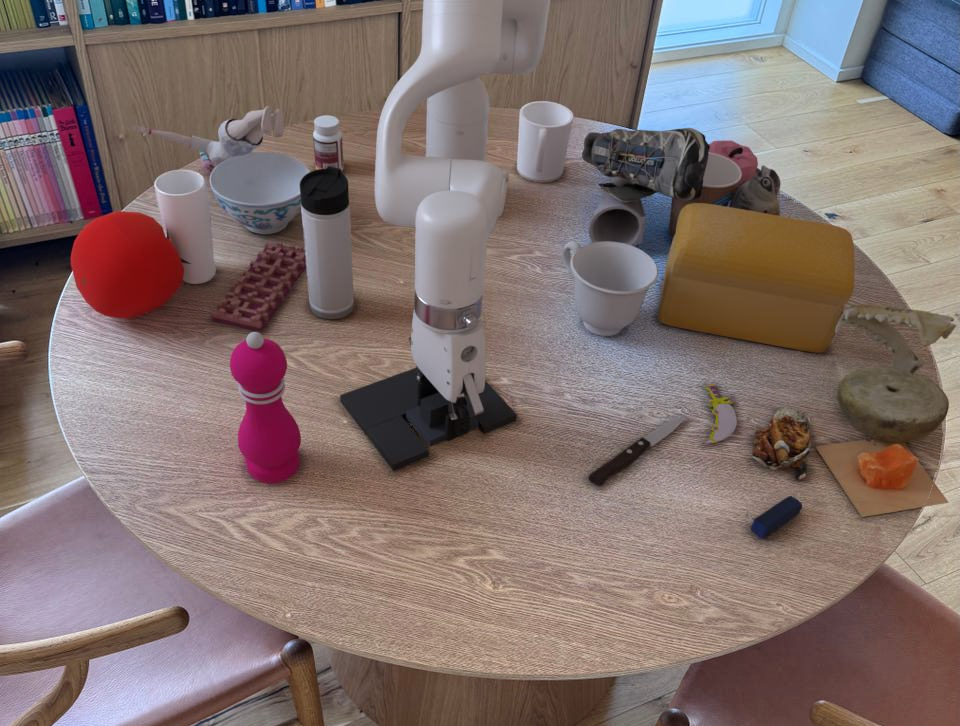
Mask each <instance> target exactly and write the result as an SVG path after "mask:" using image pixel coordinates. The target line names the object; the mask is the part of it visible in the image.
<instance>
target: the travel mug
mask: <svg viewBox="0 0 960 726" xmlns="http://www.w3.org/2000/svg"><path fill="white" fill-rule="evenodd" d="M349 192H350V191H349V180H348V177H347V176H346V174H344V173H342V171H341V169H339V168H335V167H331V166H328V167H327V168H326V169H318V170H317V169H313V170H312V171H311V170H310V172H309V173H308V174H306V175H305V176H304V177H303V178H302V179H301V181H300V195H301V211H300V212H301V222H302V234H303V245H304V246H303V247H304V251H305V258H306V269H305V270H306V279H307V292H308V302H309V309H310V311H311V313H313V314H314V315H315V316H317V317H318V318H321V319H324V320H338V319H342V318H344V317H346V316H348V315H350V314H351V312H353V310H354V307H355V299H354V295H355V294H354V274H353V273H354V272H353V254H352V253H353V252H352V250H353V249H352V231H351V227H352V225H351V210H350V209H351V208H350V204H351V203H350V198H349V197H350V193H349Z"/></svg>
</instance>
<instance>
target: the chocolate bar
mask: <svg viewBox="0 0 960 726" xmlns="http://www.w3.org/2000/svg"><path fill="white" fill-rule="evenodd" d="M249 266H250V267H249V268H248V270H243V271H242V272H241V276H240V277H239V278H238V279H237V280H235V282H234V283H233V286H234V287H233V289H232V290H231V291H229V290H228V291H226V293H225V298H223V299H222V300H221V301H219V302H218V303H217V309H216V310H215V309H213V310H212V311H211V312H210V315H211V320H212V322H218V323H221V324H225V325H230V326H234V327H238V328H242V329H246V330H251V331H253V332H258V333H261V332H262V331H263V330H264V328H265V326H267V324H268V322H269V321H270V320H271V318H272V317H273V315H274V314H275V313H276V311H277V310H278V308H279V307H280V306H281V304H282V303H283V301H284V300H285V298H286V297H287V296H288V294H289V293H290V291H291V290H292V288H293V287H294V286H295V284H296V283H297V281H299V279H300V277H301V276H302V275H303V274H304V272H305V271H306V270H307V269H306V258H305V249H304V246H302V245H298V246H297V247H296V244H294V243H290V244H289V245H288V246H287V245H284V242H283V241H281V240H278V241H277V242H276V243H273V242H269V241H266V242H265V244H264V249H263V250H262V251H261V250H260V251H258V253H257V258H256V259H255V260H251V261H250V262H249Z"/></svg>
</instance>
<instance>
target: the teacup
mask: <svg viewBox="0 0 960 726" xmlns="http://www.w3.org/2000/svg"><path fill="white" fill-rule="evenodd" d="M571 251H573V254H572V255H571ZM561 259H562V263H563V265H564V266H565V269H566V270H567V271H568V273H569V274H570V275H571V276H572V277H573V278H574V290H573V291H574V295H573V296H574V297H573V299H574V306H575V310H576V313H577V315H578V316H579V318H580V319H581V320H582V323H583V326H584V327H585V329H586V330H587V331H588V332H590V333H591V334H594V335H596V336H599V337H600V336H601V337H612V336H615V335H618V334H619V333H621V331H622V330H623V329H624V328H625V327H628V326H629V325H630V324H631V323H632V322H633V321H634V320H635V319H636V318H637V316H638V314H639V313H640V310H641V308H642V306H643V303H644V300H645V298H646V295H647V292H648V290H649V288H650V287H652V286H653V285H654V284H655V283H656V282H657V280H658V277H659V268H658V266H657V264H656V263H655V261H654V259H652V257H651V256H650V255H648V254H647V253H646V252H645V251H644V250H642V249H640V248H638V247H636V246H634V247H633V246H631V245H627V244H624V243H618V242H608V241H604V242H595V243H593V242H592V243H589V244H586V245H584V246H582V245H581V244H580V243H579V242H577V241H575V240H571V241H568V242H567V243H566V244H564V246H563V248H562V252H561Z"/></svg>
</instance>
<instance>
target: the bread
mask: <svg viewBox="0 0 960 726" xmlns="http://www.w3.org/2000/svg"><path fill="white" fill-rule="evenodd" d="M854 245H855V244H854V239H853V236H852V234H851V233H850V232H849V231H848V230H847V229H846V228H844V227H841V226H837V225H833V224H830V223H824V222H818V221H812V220H807V219H801V218H795V217H789V216H784V215H780V216H778V215H772V214H766V213H761V212H755V211H749V210H743V209H737V208H732V207H730V206H727V207H726V206H720V205H714V204H706V203H692V204H688V205H685V207H684V208H683V209H682V210H681V212H680V214H679V217H678V221H677V227H676V234H675V236H674V238H673V240H672V241H671V245H670V248H669V250H668V251H669V252H668V255H667V259H666V264H665V269H664V275H663V281H662V287H661V294H660V295H661V296H660V301H659V309H658V314H657V320H658V322H659V323H661V324H663V325H665V326H670V327H674V328H680V329H685V330H690V331H695V332H700V333H705V334H711V335H716V336H722V337H726V338H733V339H739V340H744V341H749V342H753V343H754V342H755V343H760V344H765V345H769V346H776V347H781V348H787V349H793V350H797V351H803V352H810V353H817V354H818V353H819V354H821V353H825V352H826V350H827V349H828V347H829V346H830V344H831V343H832V341H833V340H834V337H835V335H836V334H835V329H836V325H837V324H838V321H839V318H840V317H841V315H842V314H843V313H844V311H845V309H844V308H845V305H846V304H847V303H848V302H849V301H850V300H851V297H852V295H853V292H854V288H855V246H854Z"/></svg>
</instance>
